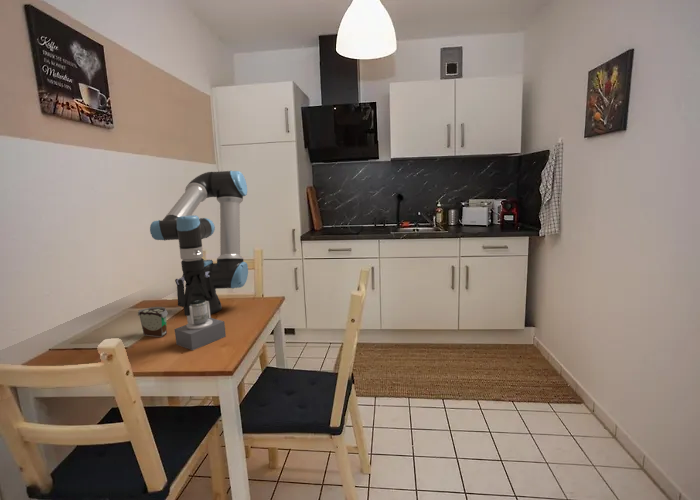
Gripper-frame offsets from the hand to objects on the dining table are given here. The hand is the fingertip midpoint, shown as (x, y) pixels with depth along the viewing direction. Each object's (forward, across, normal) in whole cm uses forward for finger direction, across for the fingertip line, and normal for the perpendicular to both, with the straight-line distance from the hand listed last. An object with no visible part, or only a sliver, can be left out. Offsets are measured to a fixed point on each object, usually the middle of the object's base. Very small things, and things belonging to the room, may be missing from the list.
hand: (199, 320), depth 139 cm
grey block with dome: (+8, 0, 0) cm, 8 cm away
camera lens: (+1, 0, 0) cm, 1 cm away
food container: (+8, -4, +22) cm, 24 cm away
